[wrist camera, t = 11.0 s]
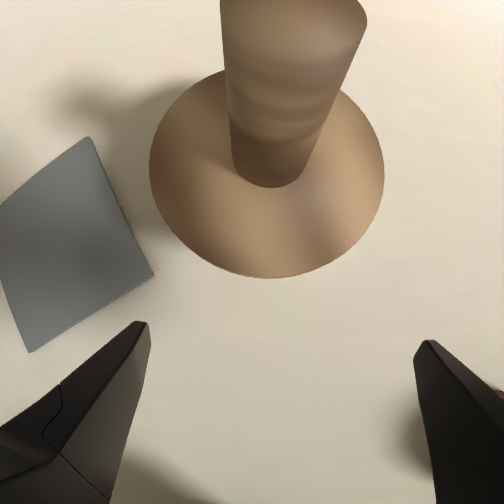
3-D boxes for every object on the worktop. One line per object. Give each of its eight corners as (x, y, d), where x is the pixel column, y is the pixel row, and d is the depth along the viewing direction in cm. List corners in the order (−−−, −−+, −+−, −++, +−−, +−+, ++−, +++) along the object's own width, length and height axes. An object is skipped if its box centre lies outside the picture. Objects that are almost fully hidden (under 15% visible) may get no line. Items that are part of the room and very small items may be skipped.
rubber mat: (154, 275, 22) (152, 275, 21) (32, 352, 20) (28, 353, 20) (91, 139, 23) (88, 136, 22) (-11, 221, 22) (-15, 219, 21)
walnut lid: (237, 327, 16) (222, 386, 5) (119, 142, 18) (29, 17, 6) (414, 196, 17) (543, 110, 6) (289, 50, 19) (312, -83, 8)
